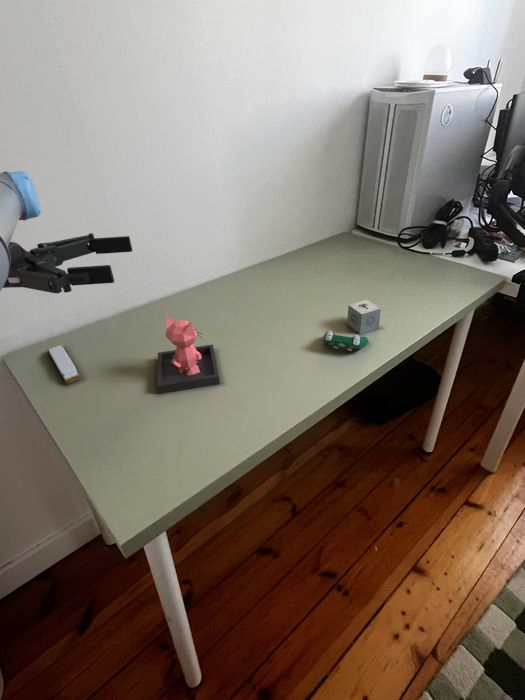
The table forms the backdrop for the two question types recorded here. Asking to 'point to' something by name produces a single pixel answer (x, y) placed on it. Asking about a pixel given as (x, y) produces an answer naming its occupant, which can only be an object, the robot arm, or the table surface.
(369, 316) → the dice cube
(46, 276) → the robot arm
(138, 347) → the table surface
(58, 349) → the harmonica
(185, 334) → the cat figurine
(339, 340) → the green elongated piece
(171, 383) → the black tray
